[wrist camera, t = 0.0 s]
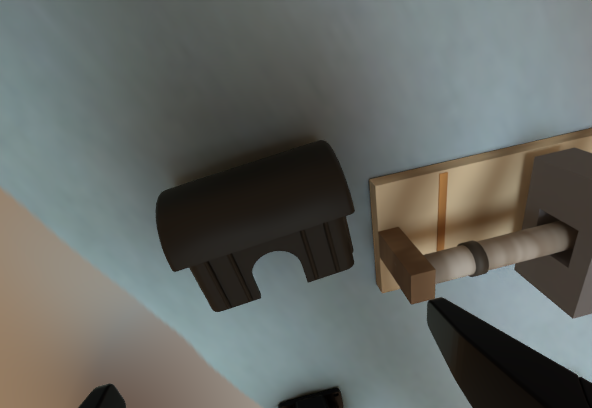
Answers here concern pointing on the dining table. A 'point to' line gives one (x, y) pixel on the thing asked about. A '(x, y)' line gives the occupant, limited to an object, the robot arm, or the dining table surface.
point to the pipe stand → (462, 218)
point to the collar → (571, 210)
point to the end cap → (258, 222)
